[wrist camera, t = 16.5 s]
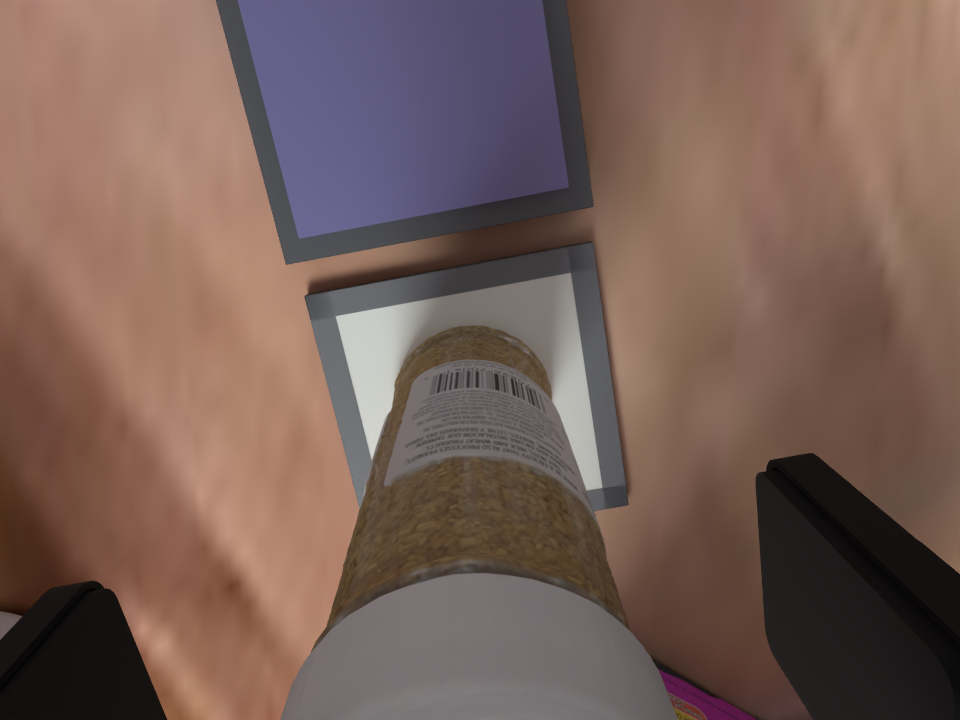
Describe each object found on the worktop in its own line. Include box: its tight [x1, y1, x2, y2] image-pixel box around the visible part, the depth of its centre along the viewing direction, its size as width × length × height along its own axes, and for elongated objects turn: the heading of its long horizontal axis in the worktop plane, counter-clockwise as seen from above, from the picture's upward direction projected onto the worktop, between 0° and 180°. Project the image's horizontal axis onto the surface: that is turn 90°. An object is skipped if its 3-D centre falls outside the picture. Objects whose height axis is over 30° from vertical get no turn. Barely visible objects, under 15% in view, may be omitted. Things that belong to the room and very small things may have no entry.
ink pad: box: [216, 0, 594, 265], centre depth 16 cm, size 8×8×2 cm
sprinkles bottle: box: [280, 325, 678, 720], centre depth 13 cm, size 5×5×13 cm
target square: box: [304, 241, 629, 511], centre depth 19 cm, size 8×8×1 cm
